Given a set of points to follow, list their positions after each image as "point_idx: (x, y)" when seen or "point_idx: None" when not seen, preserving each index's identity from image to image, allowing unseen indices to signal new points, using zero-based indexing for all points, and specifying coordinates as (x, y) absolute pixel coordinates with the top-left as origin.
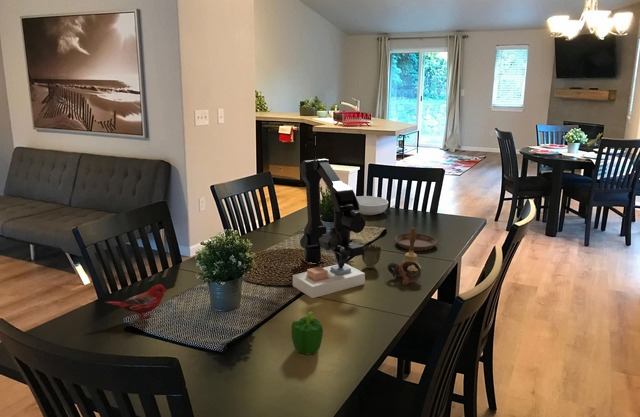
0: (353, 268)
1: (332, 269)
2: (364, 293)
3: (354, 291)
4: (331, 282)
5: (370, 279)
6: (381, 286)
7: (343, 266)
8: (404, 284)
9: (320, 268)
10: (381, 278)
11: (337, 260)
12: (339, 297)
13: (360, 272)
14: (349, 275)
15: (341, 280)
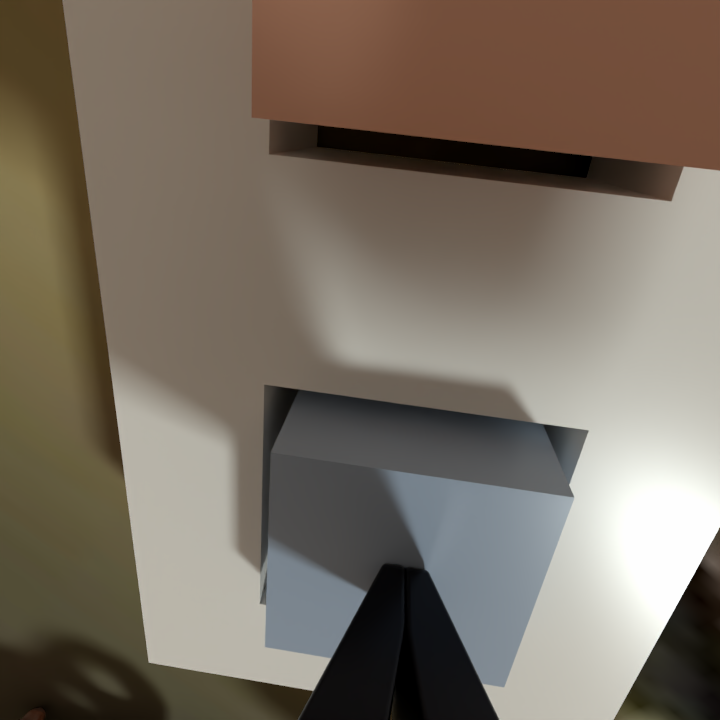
0: None
1: (505, 464)
2: (6, 395)
3: (95, 355)
4: (74, 30)
5: None
6: (88, 599)
7: None
8: (35, 710)
9: (591, 70)
10: (229, 700)
11: (456, 704)
12: (6, 60)
13: (198, 651)
14: (182, 502)
15: (115, 296)
